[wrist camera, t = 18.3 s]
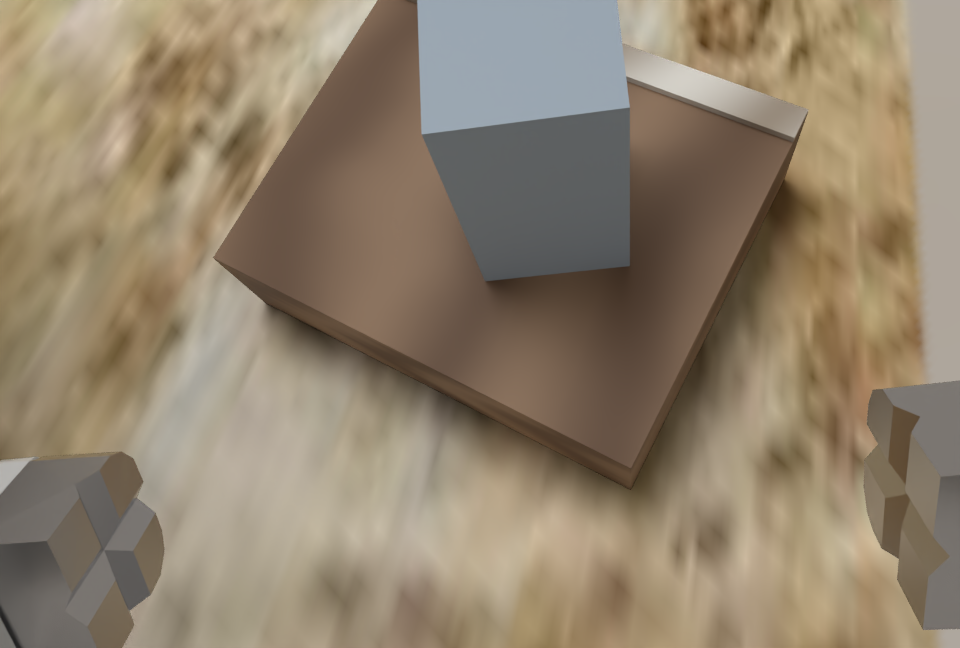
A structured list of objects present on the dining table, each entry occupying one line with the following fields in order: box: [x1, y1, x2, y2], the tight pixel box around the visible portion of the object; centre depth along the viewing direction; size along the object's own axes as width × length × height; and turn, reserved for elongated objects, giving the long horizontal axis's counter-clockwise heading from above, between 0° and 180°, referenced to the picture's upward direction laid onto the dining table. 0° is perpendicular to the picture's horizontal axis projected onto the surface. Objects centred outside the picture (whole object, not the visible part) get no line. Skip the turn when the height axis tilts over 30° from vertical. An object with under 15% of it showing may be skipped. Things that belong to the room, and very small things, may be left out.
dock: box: [213, 0, 808, 490], centre depth 34 cm, size 17×14×5 cm
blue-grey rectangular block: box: [417, 0, 630, 281], centre depth 27 cm, size 5×5×10 cm
